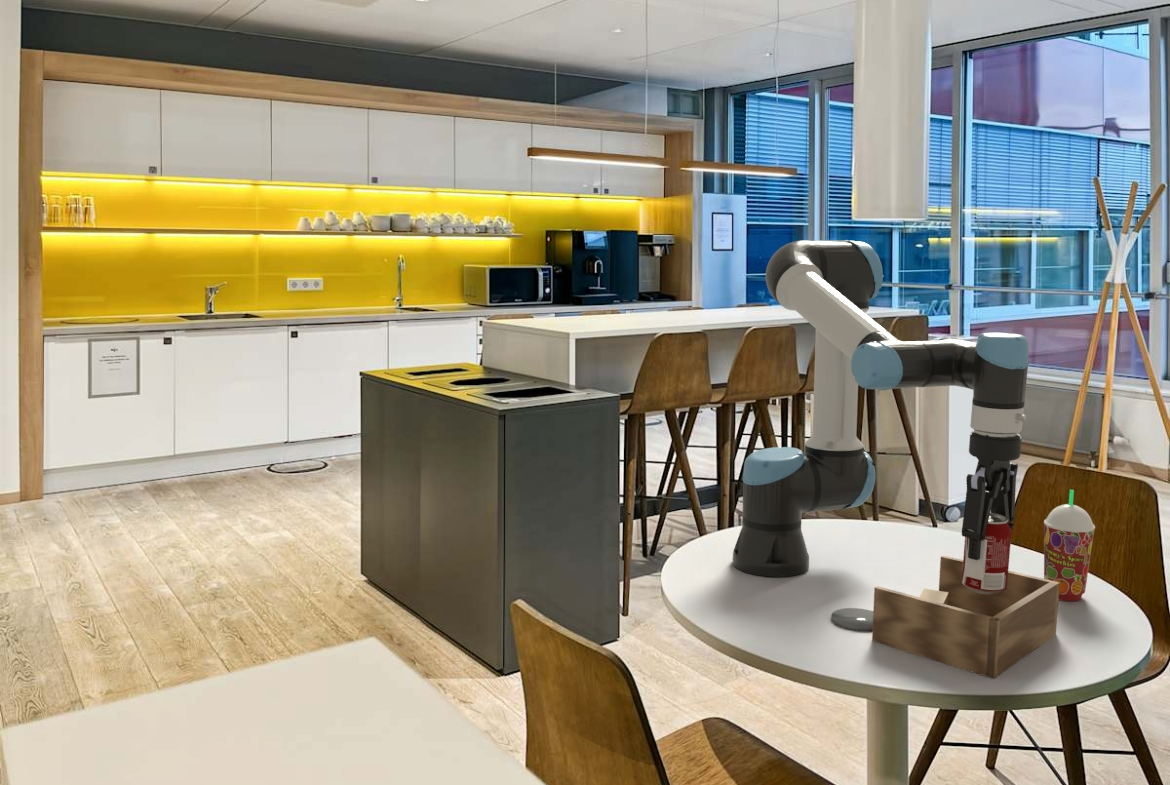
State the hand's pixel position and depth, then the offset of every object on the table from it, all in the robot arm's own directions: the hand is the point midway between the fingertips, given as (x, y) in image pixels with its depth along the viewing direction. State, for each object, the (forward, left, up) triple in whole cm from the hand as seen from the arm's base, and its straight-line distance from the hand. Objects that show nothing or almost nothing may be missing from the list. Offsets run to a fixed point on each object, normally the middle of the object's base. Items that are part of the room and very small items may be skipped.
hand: (985, 571), depth 158 cm
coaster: (-19, -6, -12) cm, 23 cm away
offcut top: (-8, 0, -9) cm, 12 cm away
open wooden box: (-3, 0, -12) cm, 12 cm away
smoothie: (+1, +32, -12) cm, 34 cm away
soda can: (0, 0, -3) cm, 3 cm away
